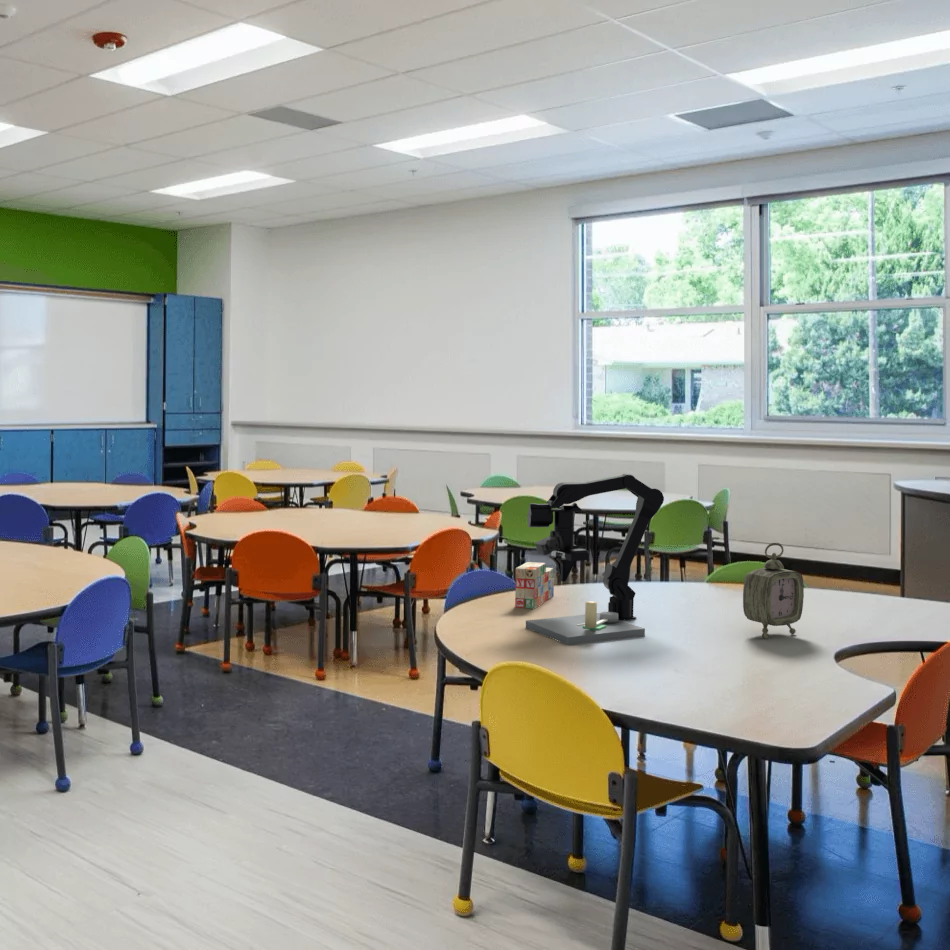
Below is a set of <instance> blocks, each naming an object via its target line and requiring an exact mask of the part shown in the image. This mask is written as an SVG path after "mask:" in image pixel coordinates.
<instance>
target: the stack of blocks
mask: <svg viewBox="0 0 950 950" xmlns="http://www.w3.org/2000/svg"><path fill="white" fill-rule="evenodd" d="M554 572H555V569H554V567H547V564H546V562H535V561H534V562H533V561H526V562H525V563H523V564H521V565H519V566H517V567H516V568H515V583H514V584H515V586H514V587H515V593H514V594H515V595H514V596H515V599H514V600H515V601H514V604H515V605H514V606H515V607H514V608H518V609H521V608H522V609H533V608H534V609H536V608H538V607H540V606H541V605H543V604H544V603H546V601H548V600H551V598H553V597H554V596H555V594H554V592H555V591H554V590H555V587H554V586H555V577H554V574H555V573H554ZM539 605H540V606H539Z"/></svg>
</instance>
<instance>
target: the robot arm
mask: <svg viewBox="0 0 950 950" xmlns="http://www.w3.org/2000/svg"><path fill="white" fill-rule="evenodd" d="M625 489H626V490H627V491H629V492H630V493H631V494H632V495H634V496H635V497H636V498H637V499H636V504H635V515H634V517H633V519H632V522H631V524H630V526H629V529H628V531H627V534H626V536H625V537H624V540H623V543H622V545H621V547H620V551H619V552H618V555H617V557H616V558H615V560H614V561H613V563H612V564H611V563H609V562H607V563H606V566H605V569H604V571H603V572H602V573H601V576H602V577H603V578H602V584H603V586H604V587H605V589H607V590H608V591H609V592H608V593H609V594H610V595H611V596H609V602H608V604H607V612H616V613H618V620H621V621H631V620H637V617H636V616H634V604H635V603H634V598H635V596H636V592H635V591H634V590H633V589H632V588H631V587H630V586H629V581H630V578H631V566H632V563H633V561H634V559H635V556H636V554H637V551H638V549H639V547H640V545H641V542H642V540H643V537H644V535H645V533H646V531H647V528H648V526H649V523H650V521H651V520H652V519H653V517H654V516H655V515H656V514H657V513H658V511H660V508H661V507H662V505H663V503H664V500H665V496H664V494H663V492H662V491H661V490H660V489H658V488H654V487H650V486H648V485H646V484H645V483H643V482H642V481H640V480H639V479H637V478H636V477H635V476H634V475H632V474H630V473H623V474H621V475H615V476H611V477H606V478H600V479H596V480H590V481H584V482H573V481H572V482H571V481H570V482H567V481H566V482H565V481H564V482H559V483H557V484H556V485H555V486H554V488H553V489H552V490H553V491H552V495H551V496H550V498H548V501H546V503H535V502H530V503H529V505H528V512H527V515H526V517H527V526H528V528H549V527H550V526H551V525H552V524H553V529H551V531H550V533H549V536H547V537H544V538H542V539H540V540H538V541H536V542H535V543H534V545H535V547H536V551H537V554H541V555H544V556H548V555H549V556H548V557H549V558H550V559H551V560H552V561H553V562H554V563H555V565H556V569H557V572H558V574H559V578H560V582H562V583H564V582H566V581H567V580H568V578H569V575H570V573H571V571H572V569H573V568H574V565H576V562H583V561H590V560H591V553H590V551H589V550H588V549H585V548H578V545H576V544H575V536H577V535H578V530H575V513H577V512H578V513H579V512H582V511H583V510H582V508H581V507H580V506H578V504H577V502H578V501H581V500H582V499H584V498H588V497H589V496H593V495H599V494H605V493H610V492H613V491H621V490H625ZM569 504H571V505H569ZM550 554H551V555H550Z"/></svg>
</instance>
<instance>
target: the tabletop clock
mask: <svg viewBox="0 0 950 950" xmlns="http://www.w3.org/2000/svg"><path fill="white" fill-rule="evenodd" d="M772 546H778V547H780V548H781V552H780V553H779V554H776V552H773V553H772V554H771V555H768V553H767V551H768V549H769V548H771V547H772ZM783 554H784V545H782V544H781V543H779V542H771V543H769V544H768V545H767V546H766V547H765V549H764V555H765V556H766V558H768V559H769V560H766V562H765V563H764V565H763V567H761V568H757V569H754V570H751V571H750V572H747V573H746V574H745V576H744V579H743V589H742V590H743V591H742V608H743V613H744V616H745V617H746V619H747V620H749V621H751V622H757V623H761V624H762V627H763V628H762V629H761V632H762V633H761V638H762V639H766V640H767V639H768V637H769V634H768V632H769V628H768V627H769V626H772V627H773V626H774V627H778V626H782V627H783V626H787V628H788V629H789V634H790V635H794V634H796V633H797V632H796V631H797V630H796V628H795V627H792V626H791V624H795V623H797V622H798V621H799V620H801V617H802V614H803V609H804V608H803V607H804V597H805V596H804V595H805V594H804V593H805V592H804V590H805V589H804V588H805V587H804V579H803V577H804V576H803V574H802V573H801V572H799V571H795V570H790V569H785V567H784V564H783V563H782V561H780V560H779V559H778V558H780V557H781V556H782V555H783Z"/></svg>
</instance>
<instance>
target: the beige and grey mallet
mask: <svg viewBox="0 0 950 950" xmlns="http://www.w3.org/2000/svg"><path fill="white" fill-rule="evenodd" d="M584 608H585V611H584V612H585V613H584V615H585V627H587V628H596V627H597V625H599V624H602V623H604V622H606V623H615V622H618V613H616V612H608V611H601V612H599V613H600V621H597V613H598V602H596V601H593V600H592V601H589V600H588V601H585V607H584Z"/></svg>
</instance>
